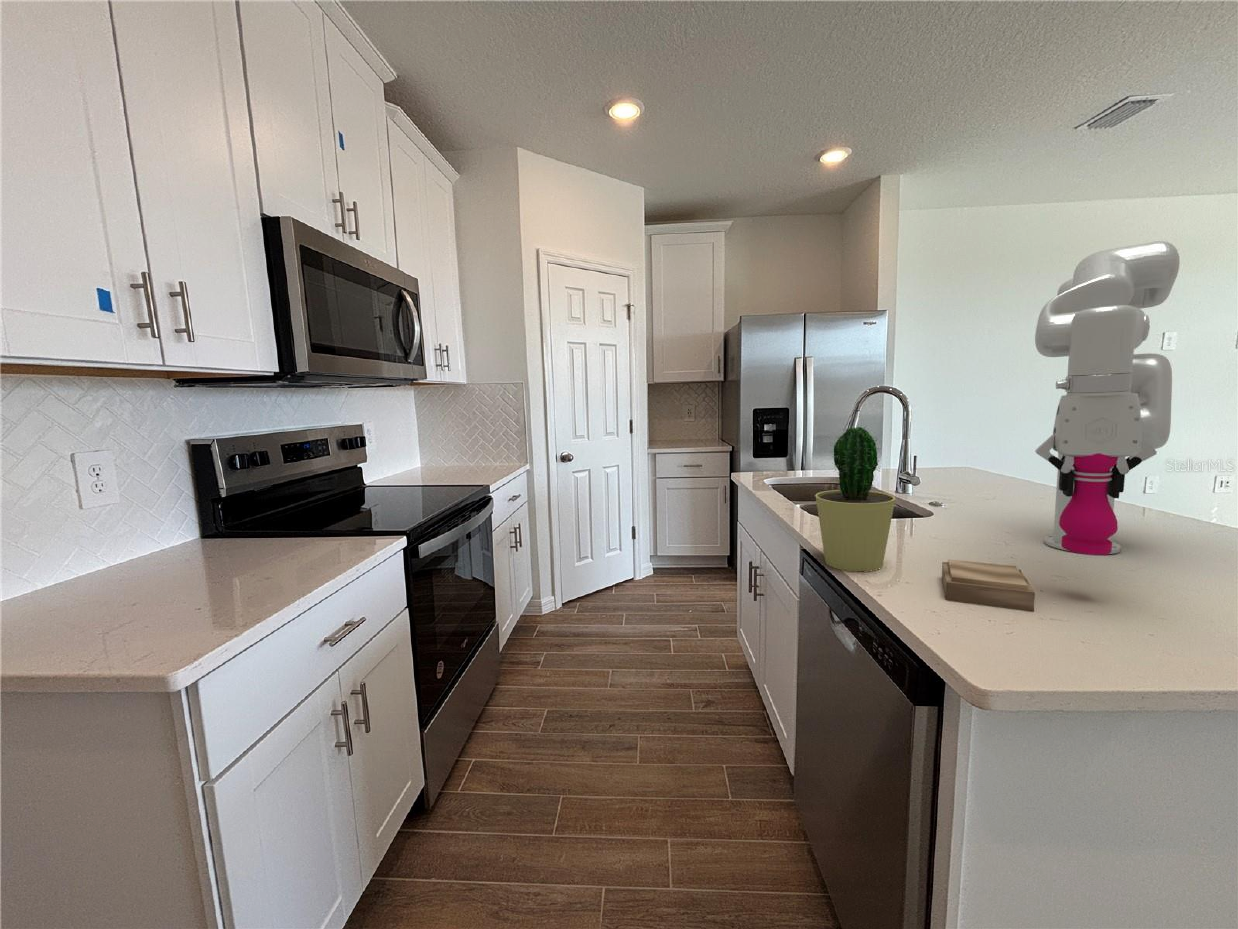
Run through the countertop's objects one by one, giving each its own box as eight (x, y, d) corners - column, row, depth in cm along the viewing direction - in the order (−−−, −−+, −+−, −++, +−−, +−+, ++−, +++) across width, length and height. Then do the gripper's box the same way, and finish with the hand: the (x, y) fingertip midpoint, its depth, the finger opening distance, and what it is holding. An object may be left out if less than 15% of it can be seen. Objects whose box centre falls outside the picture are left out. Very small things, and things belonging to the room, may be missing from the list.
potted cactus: (853, 548, 118) (855, 421, 114) (911, 568, 104) (915, 423, 100) (799, 558, 113) (799, 425, 109) (852, 580, 99) (855, 427, 95)
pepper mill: (1104, 559, 80) (1114, 435, 77) (1049, 548, 87) (1056, 433, 84) (1123, 550, 84) (1133, 430, 81) (1069, 540, 90) (1077, 428, 87)
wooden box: (941, 577, 98) (942, 557, 97) (1019, 586, 92) (1020, 565, 92) (946, 599, 88) (946, 577, 87) (1033, 611, 82) (1035, 587, 81)
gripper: (1035, 389, 82) (1029, 498, 85) (1184, 383, 74) (1171, 503, 76) (1026, 388, 89) (1020, 489, 91) (1161, 382, 80) (1151, 493, 83)
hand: (1089, 494), depth 84 cm, fingers closed on pepper mill, 5 cm apart
